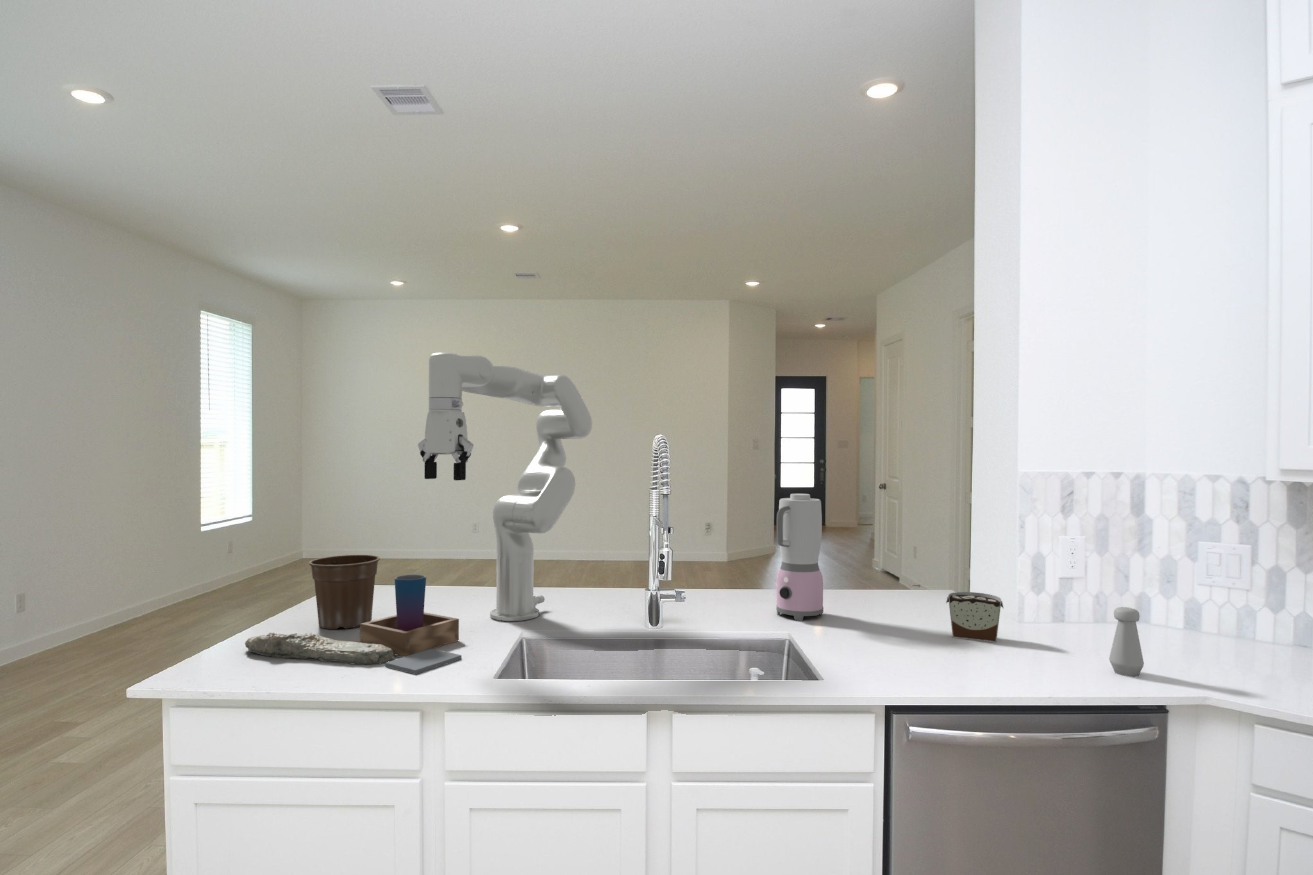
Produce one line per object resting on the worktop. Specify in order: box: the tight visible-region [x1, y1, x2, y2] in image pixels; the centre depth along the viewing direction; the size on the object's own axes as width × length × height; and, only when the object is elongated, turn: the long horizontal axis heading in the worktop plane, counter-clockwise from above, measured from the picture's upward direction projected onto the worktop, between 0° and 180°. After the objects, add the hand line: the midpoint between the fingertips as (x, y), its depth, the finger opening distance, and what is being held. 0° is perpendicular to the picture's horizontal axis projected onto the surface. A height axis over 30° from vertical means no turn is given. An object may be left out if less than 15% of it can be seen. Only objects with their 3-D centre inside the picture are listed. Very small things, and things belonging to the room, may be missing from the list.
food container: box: [945, 591, 1005, 643], centre depth 173 cm, size 12×6×10 cm, turn 65°
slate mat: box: [384, 648, 462, 675], centre depth 151 cm, size 12×9×1 cm
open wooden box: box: [359, 611, 460, 657], centre depth 165 cm, size 15×15×5 cm
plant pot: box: [308, 554, 381, 630], centre depth 182 cm, size 16×16×16 cm
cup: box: [394, 573, 427, 631], centre depth 165 cm, size 7×7×15 cm
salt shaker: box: [1108, 606, 1145, 678], centre depth 146 cm, size 6×6×13 cm
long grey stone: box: [244, 632, 394, 665], centre depth 156 cm, size 35×5×10 cm
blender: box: [775, 493, 824, 621], centre depth 192 cm, size 16×12×32 cm
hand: (444, 479), depth 171 cm, fingers open, 9 cm apart
